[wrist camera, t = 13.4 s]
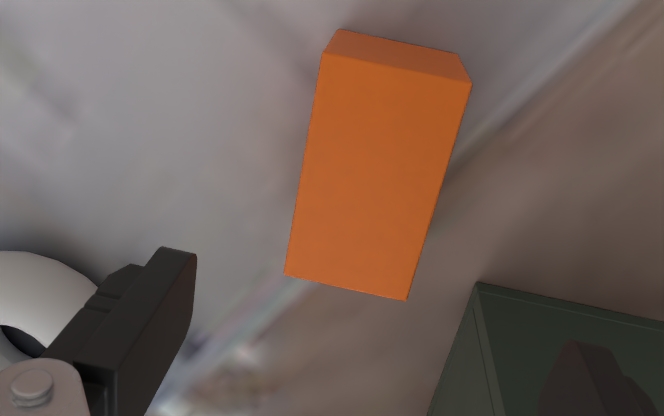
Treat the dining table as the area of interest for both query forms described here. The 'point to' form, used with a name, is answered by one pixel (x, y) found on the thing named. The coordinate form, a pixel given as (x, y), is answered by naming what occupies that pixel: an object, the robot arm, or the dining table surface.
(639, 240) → the dining table surface
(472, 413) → the green hinged box
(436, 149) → the block
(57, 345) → the robot arm
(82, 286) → the donut
